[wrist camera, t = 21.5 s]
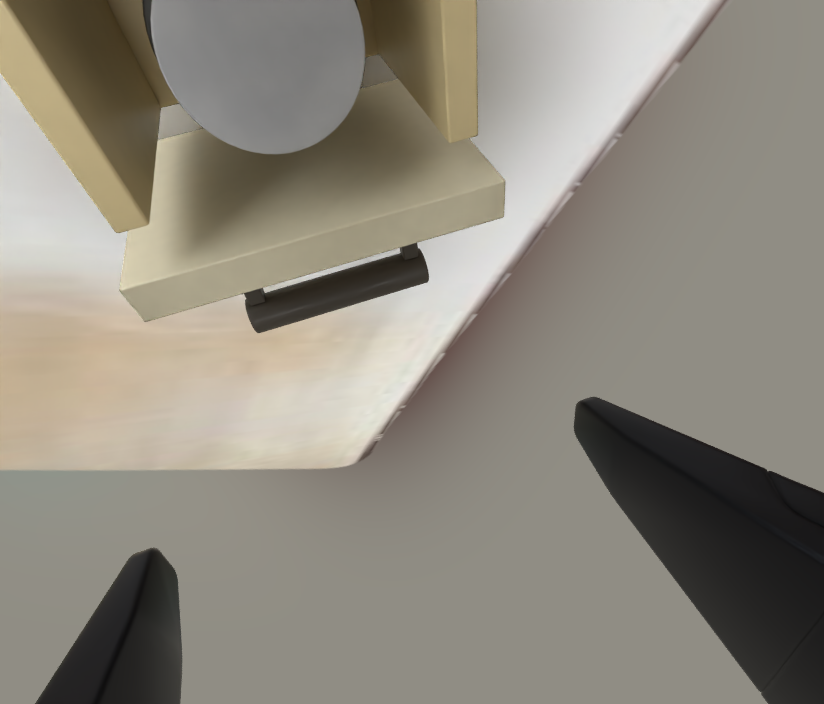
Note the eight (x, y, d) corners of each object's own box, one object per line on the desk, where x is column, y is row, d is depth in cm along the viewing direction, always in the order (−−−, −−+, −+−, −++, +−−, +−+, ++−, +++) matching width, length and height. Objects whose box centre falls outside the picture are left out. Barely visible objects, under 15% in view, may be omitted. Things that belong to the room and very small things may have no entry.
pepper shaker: (256, -173, 12) (297, -164, 7) (344, 15, 15) (408, 98, 11) (115, -70, 12) (73, -4, 8) (230, 90, 16) (246, 198, 11)
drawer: (428, 207, 23) (500, 326, 17) (212, 269, 22) (219, 415, 16) (351, -541, 9) (554, -989, 4) (-219, -479, 8) (-913, -976, 3)
